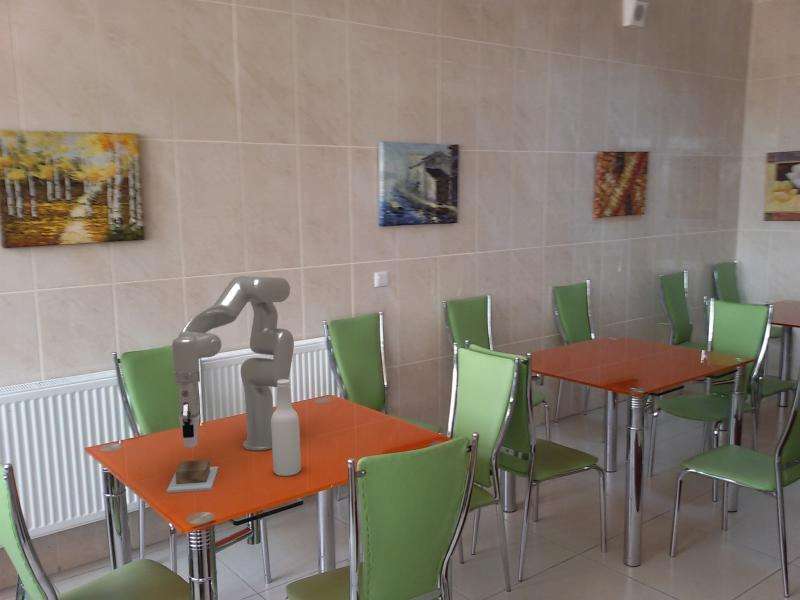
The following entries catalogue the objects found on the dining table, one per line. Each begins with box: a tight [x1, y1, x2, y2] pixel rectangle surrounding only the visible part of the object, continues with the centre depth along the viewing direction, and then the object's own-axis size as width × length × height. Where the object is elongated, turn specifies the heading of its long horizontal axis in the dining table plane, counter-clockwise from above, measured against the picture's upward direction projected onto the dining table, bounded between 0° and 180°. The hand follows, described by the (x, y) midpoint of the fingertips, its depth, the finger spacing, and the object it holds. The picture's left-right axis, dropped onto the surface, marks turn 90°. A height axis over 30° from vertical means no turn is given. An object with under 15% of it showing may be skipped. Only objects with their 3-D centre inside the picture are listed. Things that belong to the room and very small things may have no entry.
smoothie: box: [178, 412, 201, 448], centre depth 228 cm, size 6×6×14 cm
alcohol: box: [271, 379, 302, 477], centre depth 234 cm, size 9×9×30 cm
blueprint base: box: [166, 459, 219, 494], centre depth 230 cm, size 13×18×5 cm
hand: (190, 433), depth 228 cm, fingers closed on smoothie, 6 cm apart
